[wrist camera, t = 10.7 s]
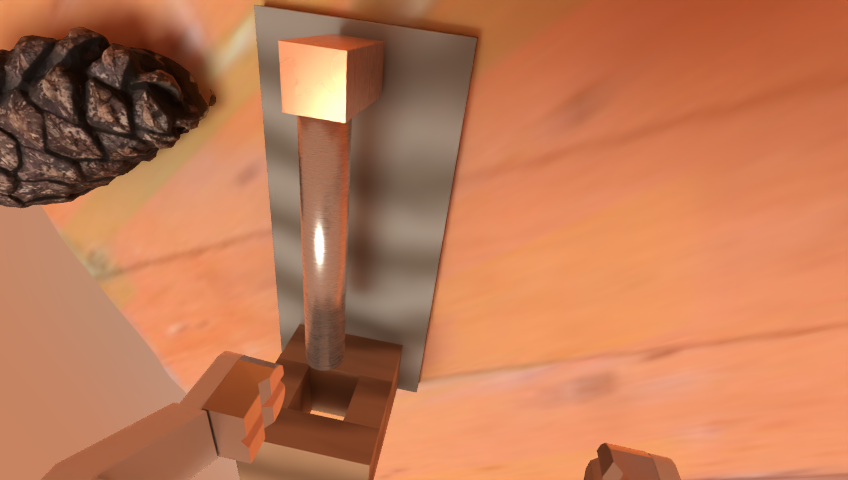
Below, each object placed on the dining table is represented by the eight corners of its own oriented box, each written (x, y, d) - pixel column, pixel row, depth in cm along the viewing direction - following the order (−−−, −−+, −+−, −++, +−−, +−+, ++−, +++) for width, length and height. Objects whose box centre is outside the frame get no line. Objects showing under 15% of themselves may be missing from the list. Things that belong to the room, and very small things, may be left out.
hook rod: (333, 33, 24) (278, 40, 18) (384, 41, 24) (346, 50, 18) (331, 304, 35) (296, 366, 29) (367, 311, 35) (339, 375, 28)
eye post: (263, 5, 26) (95, -1, 15) (477, 37, 25) (465, 55, 14) (288, 355, 42) (215, 475, 31) (418, 382, 41) (391, 516, 30)
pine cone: (244, 120, 30) (143, 163, 21) (91, 194, 36) (-37, 252, 27) (152, -32, 26) (-19, -55, 17) (-4, 79, 32) (-192, 104, 23)
